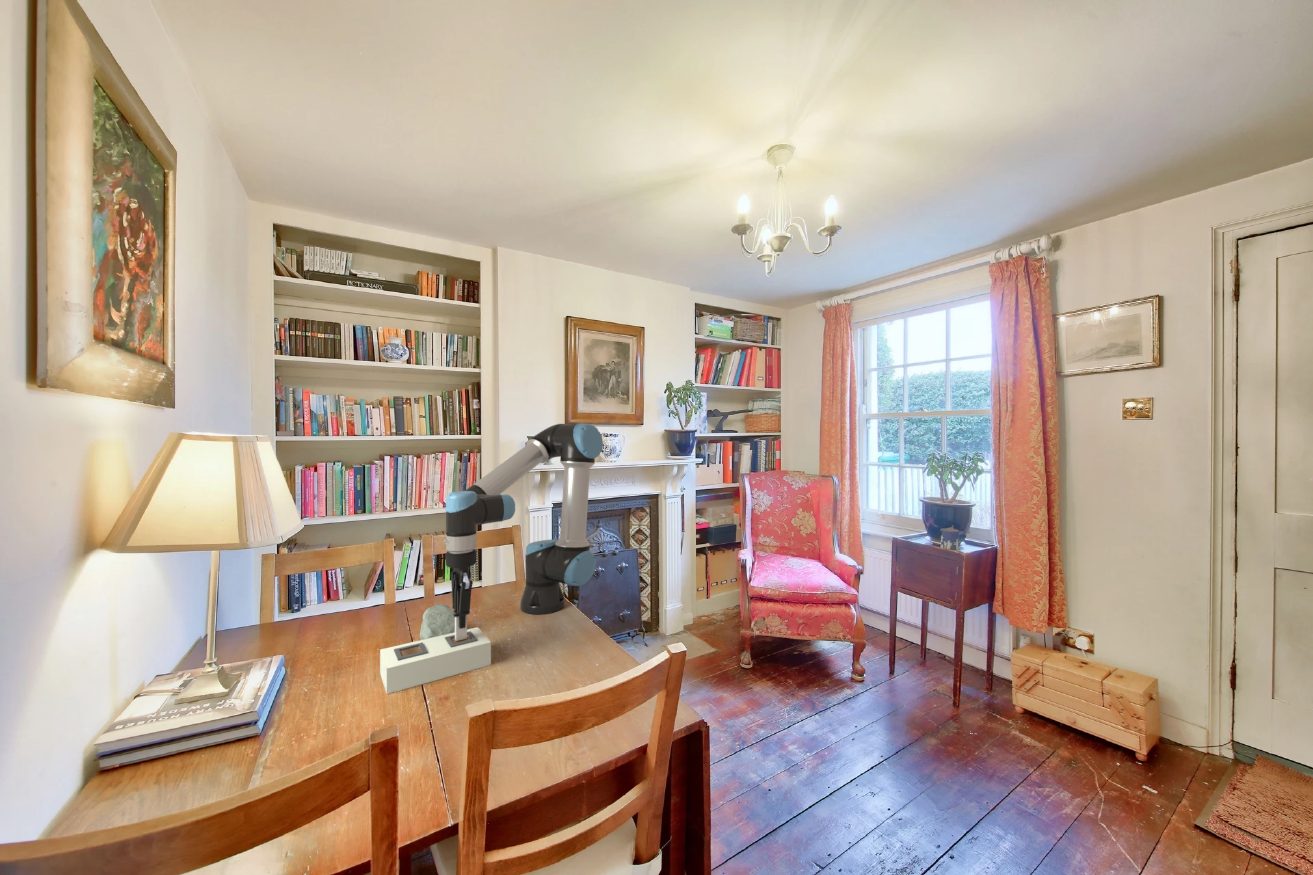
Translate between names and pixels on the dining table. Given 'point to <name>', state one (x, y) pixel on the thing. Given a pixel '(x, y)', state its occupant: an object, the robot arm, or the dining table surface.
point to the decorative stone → (437, 622)
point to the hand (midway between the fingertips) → (460, 638)
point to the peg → (410, 651)
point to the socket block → (433, 660)
